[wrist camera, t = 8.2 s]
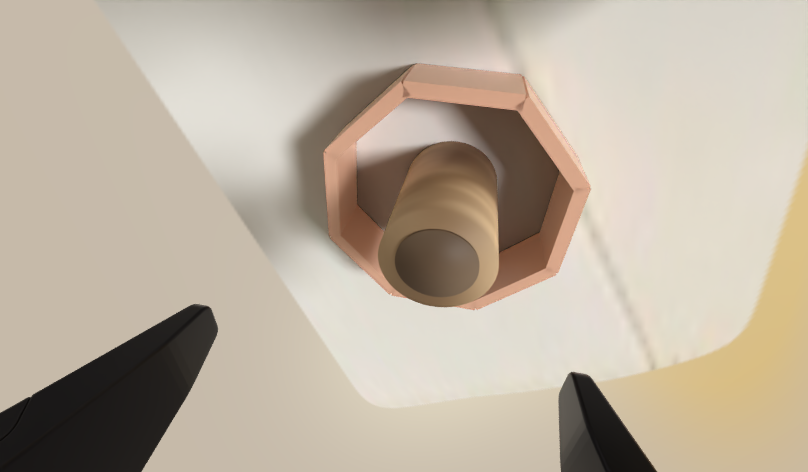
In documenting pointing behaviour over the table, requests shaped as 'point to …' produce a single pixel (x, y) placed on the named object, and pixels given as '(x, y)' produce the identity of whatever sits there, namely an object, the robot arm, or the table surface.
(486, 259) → the oak tube
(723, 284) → the table surface
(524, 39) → the table surface
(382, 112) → the pink octagonal ring
